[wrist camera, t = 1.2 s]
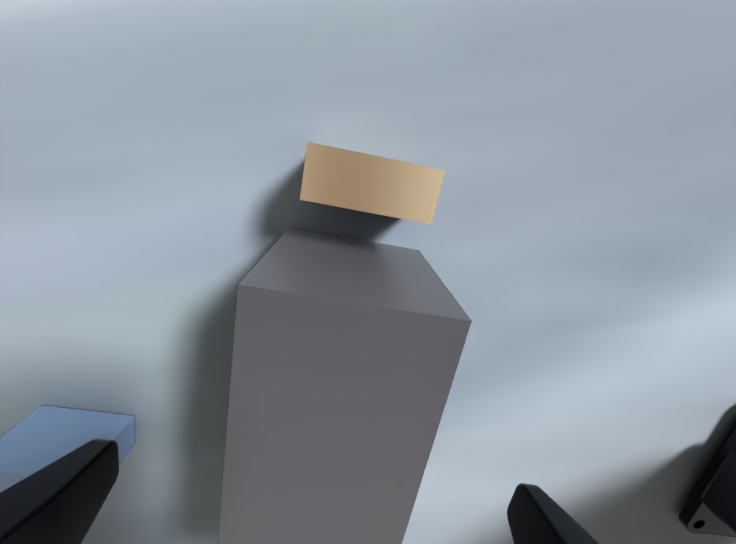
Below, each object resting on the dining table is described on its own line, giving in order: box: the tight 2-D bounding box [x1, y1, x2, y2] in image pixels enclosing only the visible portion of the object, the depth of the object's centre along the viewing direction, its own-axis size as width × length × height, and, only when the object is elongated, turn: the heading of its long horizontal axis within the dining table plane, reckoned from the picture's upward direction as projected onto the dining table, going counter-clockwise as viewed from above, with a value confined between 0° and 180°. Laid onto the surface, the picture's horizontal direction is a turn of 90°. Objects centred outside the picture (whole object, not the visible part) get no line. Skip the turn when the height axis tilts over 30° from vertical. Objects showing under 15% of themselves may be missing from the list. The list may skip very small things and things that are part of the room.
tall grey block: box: [218, 228, 471, 544], centre depth 9 cm, size 4×9×5 cm, turn 169°
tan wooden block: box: [300, 142, 446, 224], centre depth 10 cm, size 3×14×2 cm, turn 169°
